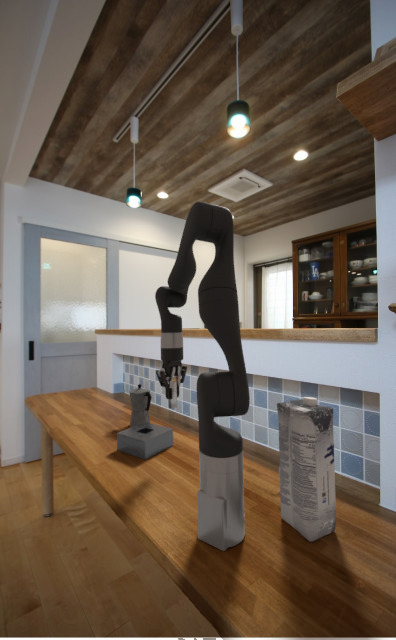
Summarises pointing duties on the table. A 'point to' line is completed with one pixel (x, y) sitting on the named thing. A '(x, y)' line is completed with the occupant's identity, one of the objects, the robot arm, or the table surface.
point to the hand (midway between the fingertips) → (172, 397)
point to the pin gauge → (173, 394)
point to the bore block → (145, 440)
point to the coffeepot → (140, 406)
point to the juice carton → (307, 467)
